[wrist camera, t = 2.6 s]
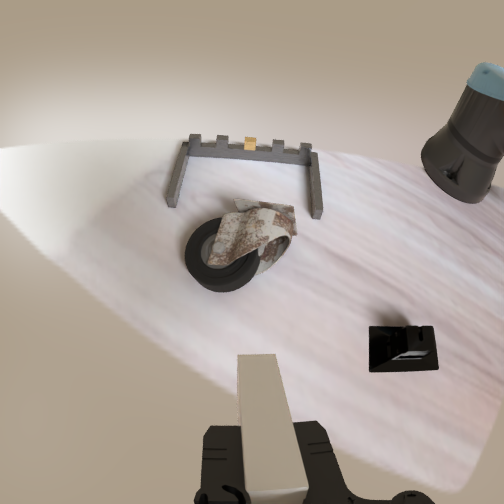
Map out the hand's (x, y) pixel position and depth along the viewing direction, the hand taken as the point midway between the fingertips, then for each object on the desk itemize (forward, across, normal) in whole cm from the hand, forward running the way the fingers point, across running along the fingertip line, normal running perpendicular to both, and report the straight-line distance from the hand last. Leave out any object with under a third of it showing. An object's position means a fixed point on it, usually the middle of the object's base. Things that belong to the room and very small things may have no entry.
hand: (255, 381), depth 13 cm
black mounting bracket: (+18, +19, -11) cm, 29 cm away
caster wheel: (+26, 0, -2) cm, 27 cm away
